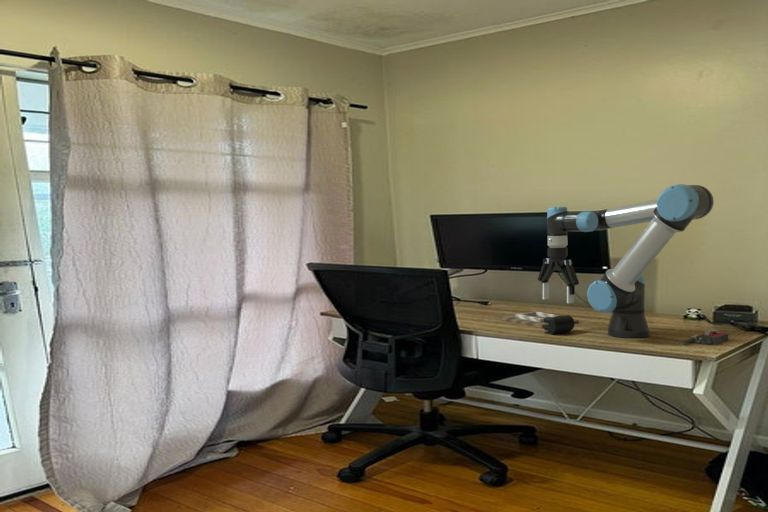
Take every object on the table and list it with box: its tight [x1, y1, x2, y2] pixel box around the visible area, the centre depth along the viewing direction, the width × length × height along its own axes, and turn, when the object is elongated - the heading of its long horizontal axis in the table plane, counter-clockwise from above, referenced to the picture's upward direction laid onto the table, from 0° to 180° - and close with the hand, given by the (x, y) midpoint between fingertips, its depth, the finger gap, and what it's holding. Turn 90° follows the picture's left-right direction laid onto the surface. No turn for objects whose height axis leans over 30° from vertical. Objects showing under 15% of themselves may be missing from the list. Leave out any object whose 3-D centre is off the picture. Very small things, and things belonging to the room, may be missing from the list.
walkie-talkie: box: [681, 329, 729, 346], centre depth 229 cm, size 9×4×20 cm
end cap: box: [543, 314, 576, 335], centre depth 256 cm, size 10×7×7 cm
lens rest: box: [499, 311, 580, 329], centre depth 284 cm, size 28×20×3 cm
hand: (557, 301), depth 255 cm, fingers open, 13 cm apart
